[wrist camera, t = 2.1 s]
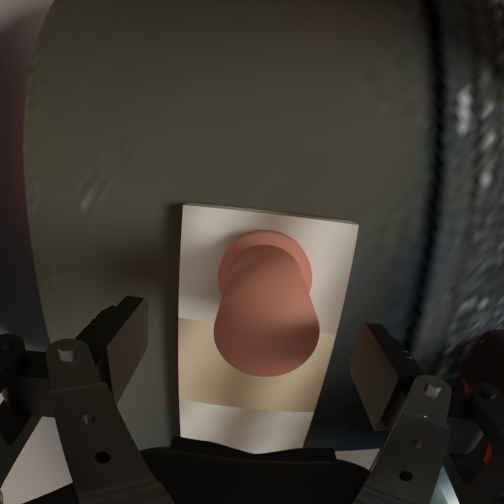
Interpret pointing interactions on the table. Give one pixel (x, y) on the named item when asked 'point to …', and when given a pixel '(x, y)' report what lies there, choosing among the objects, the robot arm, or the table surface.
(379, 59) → the table surface
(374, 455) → the die
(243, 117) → the table surface
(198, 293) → the board
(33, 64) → the table surface
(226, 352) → the pawn
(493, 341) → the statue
